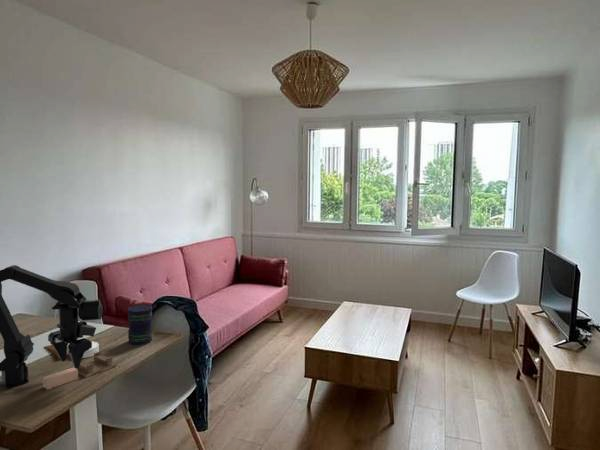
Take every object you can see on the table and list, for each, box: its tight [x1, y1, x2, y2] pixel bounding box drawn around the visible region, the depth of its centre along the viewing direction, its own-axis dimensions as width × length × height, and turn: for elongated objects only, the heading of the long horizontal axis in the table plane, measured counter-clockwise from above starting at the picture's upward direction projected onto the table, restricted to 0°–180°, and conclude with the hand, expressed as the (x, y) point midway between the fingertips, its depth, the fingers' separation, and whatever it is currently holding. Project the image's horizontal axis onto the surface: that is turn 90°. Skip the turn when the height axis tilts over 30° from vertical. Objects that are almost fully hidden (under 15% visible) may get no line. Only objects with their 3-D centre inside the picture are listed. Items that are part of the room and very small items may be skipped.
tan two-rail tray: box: [73, 351, 117, 378], centre depth 150 cm, size 11×10×4 cm
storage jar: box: [127, 304, 153, 346], centre depth 177 cm, size 10×10×15 cm
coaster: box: [82, 340, 100, 359], centre depth 163 cm, size 10×10×4 cm
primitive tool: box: [43, 344, 69, 361], centre depth 164 cm, size 19×6×4 cm, turn 46°
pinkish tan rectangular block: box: [42, 366, 79, 390], centre depth 139 cm, size 10×3×4 cm, turn 145°
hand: (70, 364), depth 141 cm, fingers open, 9 cm apart
